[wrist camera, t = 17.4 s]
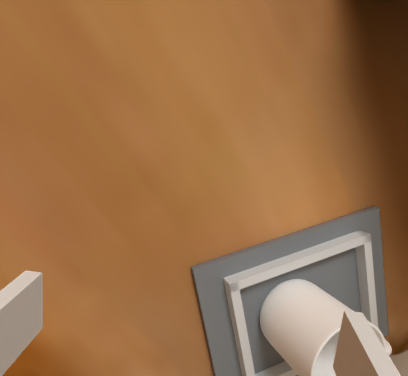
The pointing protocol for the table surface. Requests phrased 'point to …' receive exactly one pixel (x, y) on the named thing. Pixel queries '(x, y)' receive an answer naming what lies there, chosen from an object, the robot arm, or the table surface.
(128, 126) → the table surface
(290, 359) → the cup
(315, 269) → the rail plate
